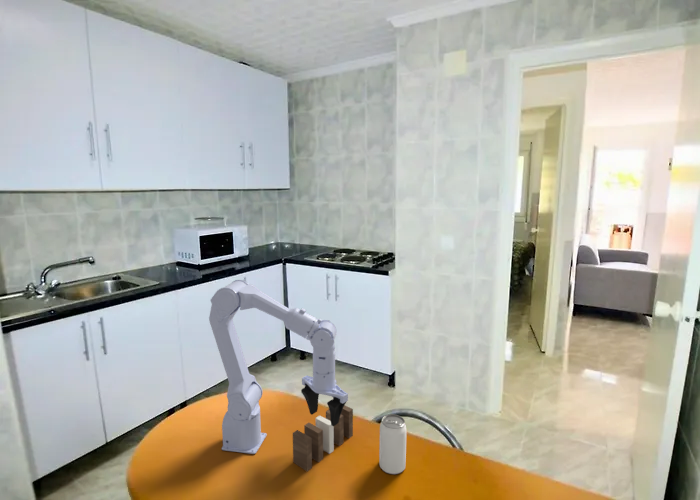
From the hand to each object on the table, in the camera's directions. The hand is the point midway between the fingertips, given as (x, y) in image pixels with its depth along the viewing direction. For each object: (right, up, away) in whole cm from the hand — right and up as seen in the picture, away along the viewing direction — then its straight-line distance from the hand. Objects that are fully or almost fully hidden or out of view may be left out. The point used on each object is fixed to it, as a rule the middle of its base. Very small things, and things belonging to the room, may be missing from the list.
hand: (324, 418), depth 96 cm
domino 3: (0, -9, +1) cm, 9 cm away
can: (+17, -10, -5) cm, 20 cm away
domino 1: (-5, -9, -5) cm, 12 cm away
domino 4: (+3, -8, +4) cm, 10 cm away
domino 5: (+5, -8, +7) cm, 12 cm away
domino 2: (-2, -9, -2) cm, 9 cm away
